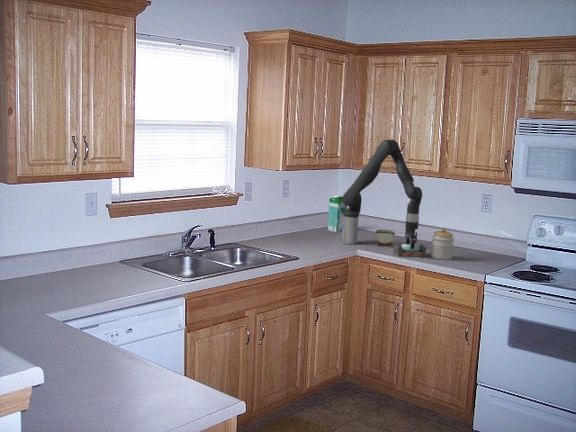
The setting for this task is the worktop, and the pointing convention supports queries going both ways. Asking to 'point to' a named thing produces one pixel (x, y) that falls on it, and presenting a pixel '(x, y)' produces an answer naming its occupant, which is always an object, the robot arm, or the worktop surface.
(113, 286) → the worktop surface
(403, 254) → the holder
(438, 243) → the jar
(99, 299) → the worktop surface
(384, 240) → the food container
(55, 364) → the worktop surface
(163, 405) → the worktop surface
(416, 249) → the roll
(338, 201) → the milk carton
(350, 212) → the robot arm
